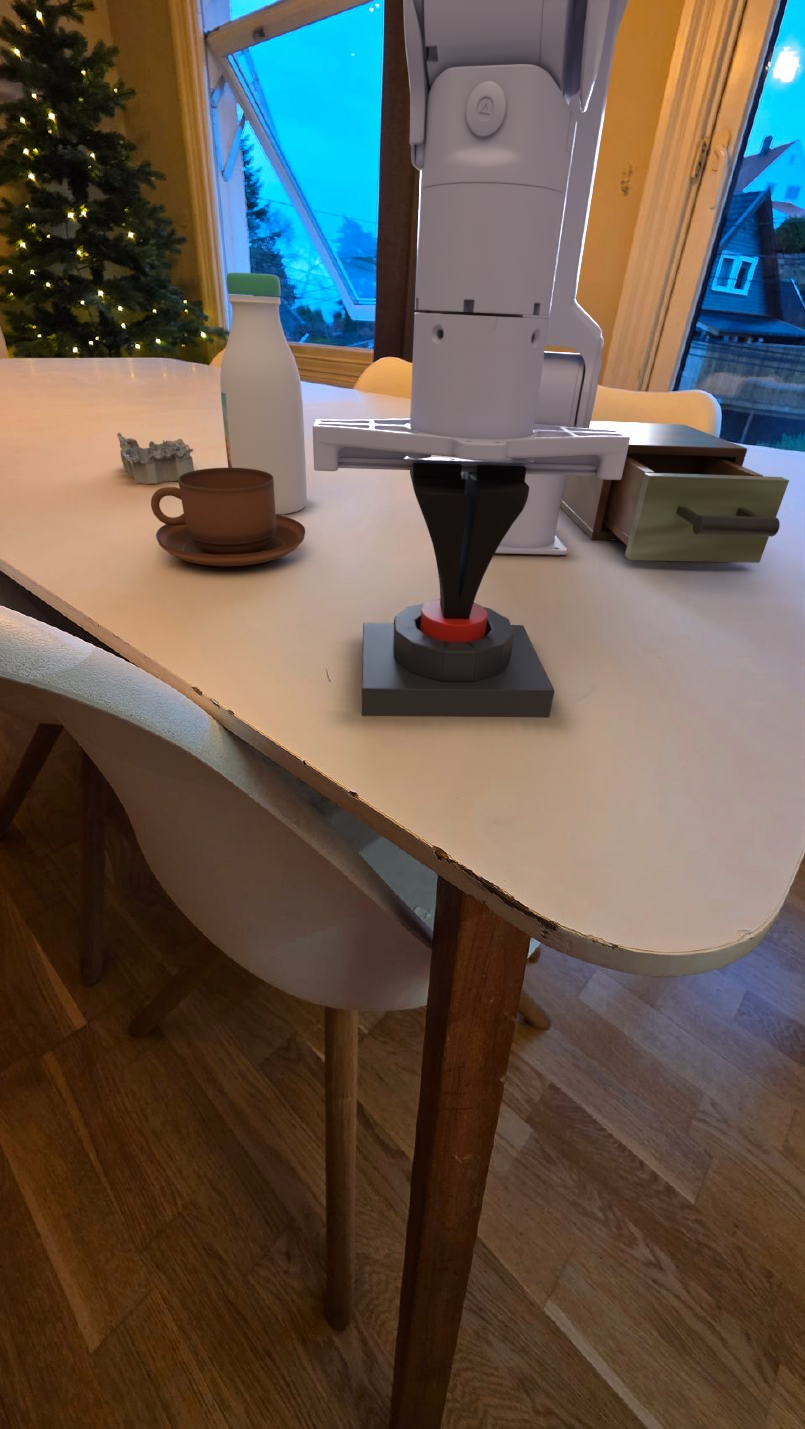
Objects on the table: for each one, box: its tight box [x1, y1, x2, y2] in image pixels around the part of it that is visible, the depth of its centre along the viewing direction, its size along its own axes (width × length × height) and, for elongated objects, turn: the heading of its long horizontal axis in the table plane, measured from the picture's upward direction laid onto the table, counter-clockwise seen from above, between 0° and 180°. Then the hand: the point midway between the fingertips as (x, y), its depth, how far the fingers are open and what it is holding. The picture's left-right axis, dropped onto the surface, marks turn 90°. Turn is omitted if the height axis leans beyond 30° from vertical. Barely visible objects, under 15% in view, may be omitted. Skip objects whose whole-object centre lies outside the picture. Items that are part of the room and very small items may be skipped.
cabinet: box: [560, 420, 748, 541], centre depth 64 cm, size 14×13×9 cm
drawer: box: [603, 454, 790, 564], centre depth 54 cm, size 17×11×7 cm, turn 3°
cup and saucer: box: [150, 467, 306, 567], centre depth 51 cm, size 12×12×6 cm
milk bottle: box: [219, 272, 308, 515], centre depth 60 cm, size 8×8×20 cm
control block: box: [361, 602, 555, 718], centre depth 35 cm, size 10×8×4 cm
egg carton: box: [116, 432, 195, 485], centre depth 74 cm, size 11×8×4 cm
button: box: [420, 598, 488, 642], centre depth 34 cm, size 4×4×2 cm
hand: (454, 611), depth 34 cm, fingers closed, pressing on button
